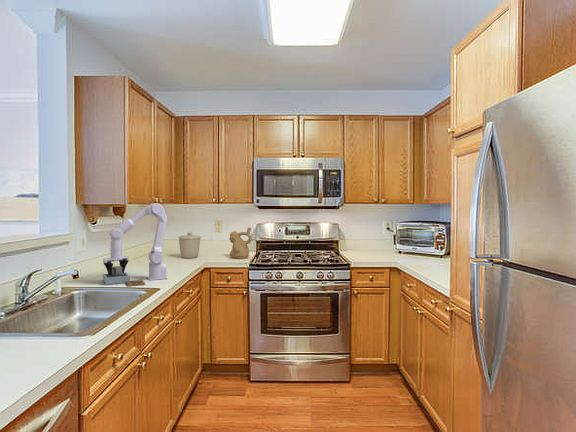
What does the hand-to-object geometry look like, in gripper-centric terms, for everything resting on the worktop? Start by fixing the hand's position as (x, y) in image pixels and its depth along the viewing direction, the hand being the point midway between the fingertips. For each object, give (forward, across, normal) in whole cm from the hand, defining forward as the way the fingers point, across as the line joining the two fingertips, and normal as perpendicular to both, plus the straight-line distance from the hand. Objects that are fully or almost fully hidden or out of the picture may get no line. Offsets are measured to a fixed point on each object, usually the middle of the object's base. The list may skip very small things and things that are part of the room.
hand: (116, 274), depth 211 cm
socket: (+4, +2, -13) cm, 14 cm away
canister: (+5, +90, +33) cm, 96 cm away
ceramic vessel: (+5, +112, -1) cm, 112 cm away
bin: (+4, 0, 0) cm, 4 cm away
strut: (+4, 0, 0) cm, 4 cm away
